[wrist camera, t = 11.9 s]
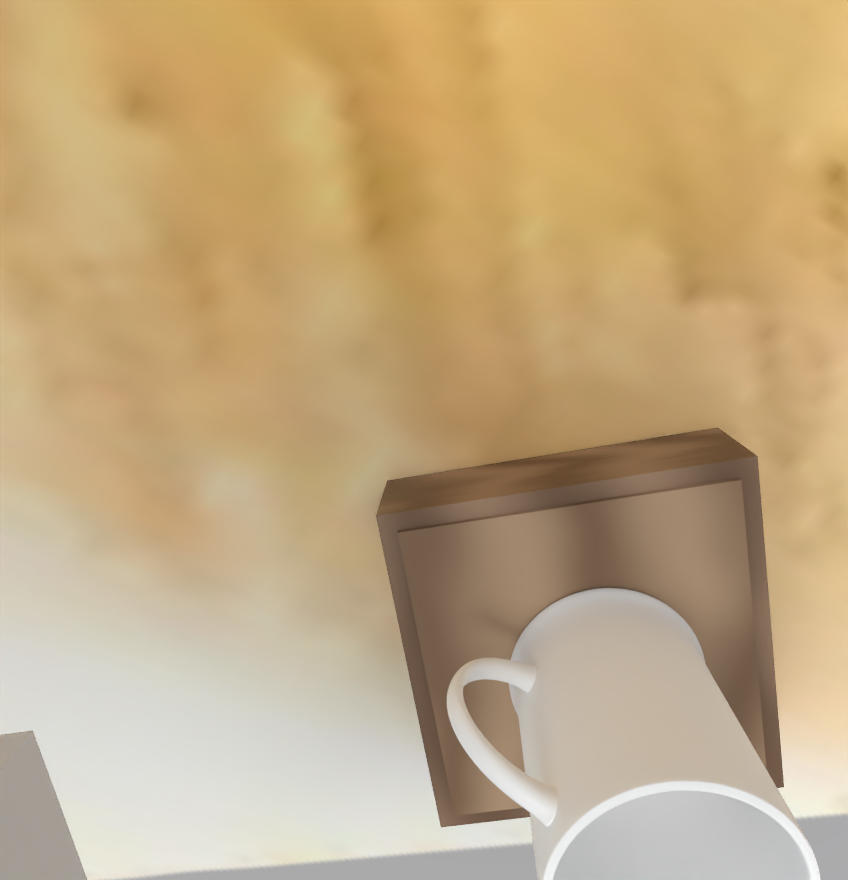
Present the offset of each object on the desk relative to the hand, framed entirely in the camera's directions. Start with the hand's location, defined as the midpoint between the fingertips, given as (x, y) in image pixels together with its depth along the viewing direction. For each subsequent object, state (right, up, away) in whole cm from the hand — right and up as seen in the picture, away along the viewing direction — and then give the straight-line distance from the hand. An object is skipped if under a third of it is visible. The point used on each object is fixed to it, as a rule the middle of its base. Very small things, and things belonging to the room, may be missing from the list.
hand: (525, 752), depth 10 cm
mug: (+5, -5, +24) cm, 25 cm away
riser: (+6, -4, +29) cm, 30 cm away
